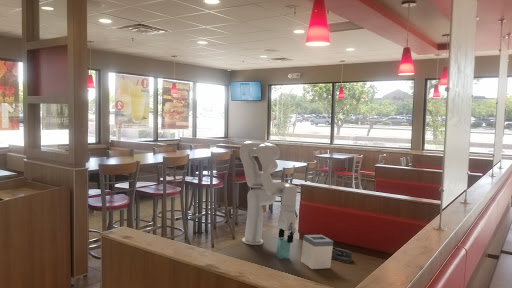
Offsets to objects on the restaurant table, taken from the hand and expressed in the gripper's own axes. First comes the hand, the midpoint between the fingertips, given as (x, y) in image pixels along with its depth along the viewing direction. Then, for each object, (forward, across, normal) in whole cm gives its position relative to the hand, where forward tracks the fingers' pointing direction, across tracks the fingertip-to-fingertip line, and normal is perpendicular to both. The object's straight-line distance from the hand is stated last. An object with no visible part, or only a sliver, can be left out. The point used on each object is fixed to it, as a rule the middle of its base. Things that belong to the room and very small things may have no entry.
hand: (285, 240), depth 210 cm
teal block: (+10, -1, 0) cm, 10 cm away
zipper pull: (+10, -1, +30) cm, 31 cm away
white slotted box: (+10, +11, +13) cm, 20 cm away
